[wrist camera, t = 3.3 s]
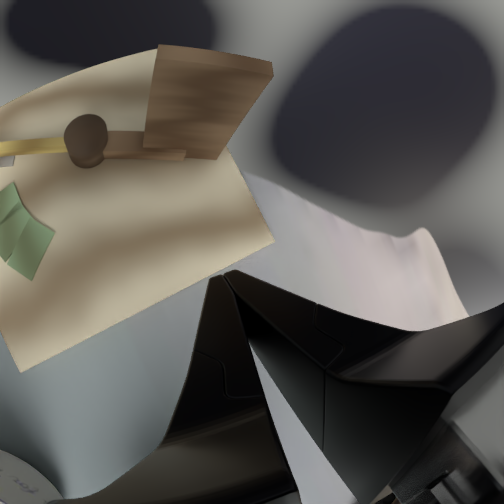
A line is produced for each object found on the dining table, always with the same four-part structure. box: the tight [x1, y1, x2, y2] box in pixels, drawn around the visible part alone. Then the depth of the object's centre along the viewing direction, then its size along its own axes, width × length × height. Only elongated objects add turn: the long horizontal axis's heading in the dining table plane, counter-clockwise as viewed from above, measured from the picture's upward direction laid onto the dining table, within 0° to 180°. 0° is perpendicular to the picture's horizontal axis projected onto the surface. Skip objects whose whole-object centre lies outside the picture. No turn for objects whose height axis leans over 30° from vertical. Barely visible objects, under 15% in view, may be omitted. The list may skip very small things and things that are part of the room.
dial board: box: [0, 49, 275, 373], centre depth 19 cm, size 20×21×1 cm
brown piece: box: [0, 45, 274, 168], centre depth 14 cm, size 18×3×10 cm, turn 94°
